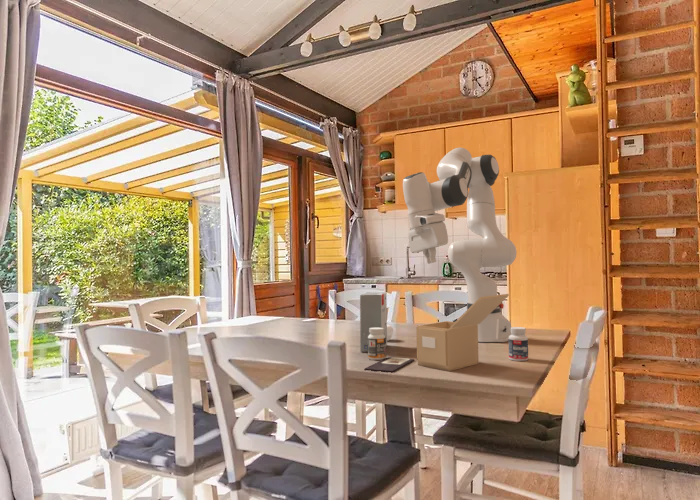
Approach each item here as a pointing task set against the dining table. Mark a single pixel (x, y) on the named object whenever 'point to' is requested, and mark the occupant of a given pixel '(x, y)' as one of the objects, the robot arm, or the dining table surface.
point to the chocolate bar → (390, 364)
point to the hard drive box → (372, 316)
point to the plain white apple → (389, 332)
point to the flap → (479, 310)
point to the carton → (447, 346)
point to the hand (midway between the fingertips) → (431, 263)
